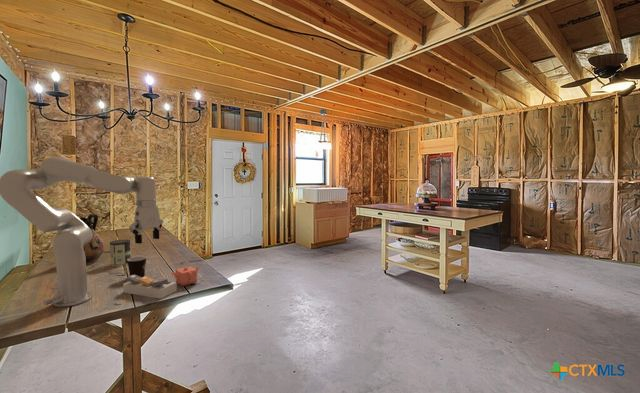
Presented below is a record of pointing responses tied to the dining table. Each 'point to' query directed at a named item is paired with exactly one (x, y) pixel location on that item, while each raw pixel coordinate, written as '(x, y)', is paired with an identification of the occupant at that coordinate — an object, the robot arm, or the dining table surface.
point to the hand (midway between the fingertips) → (147, 240)
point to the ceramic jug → (93, 241)
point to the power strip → (150, 289)
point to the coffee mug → (137, 266)
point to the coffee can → (120, 252)
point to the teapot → (186, 275)
